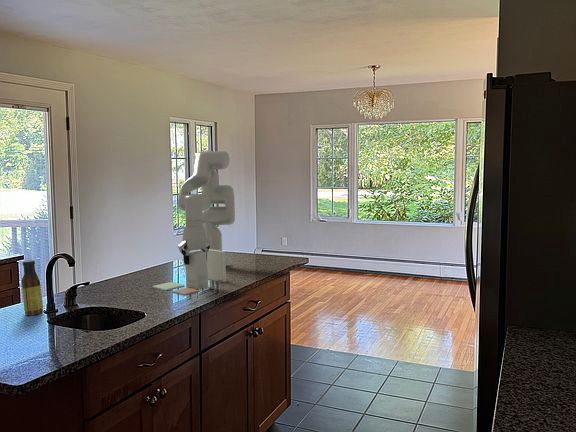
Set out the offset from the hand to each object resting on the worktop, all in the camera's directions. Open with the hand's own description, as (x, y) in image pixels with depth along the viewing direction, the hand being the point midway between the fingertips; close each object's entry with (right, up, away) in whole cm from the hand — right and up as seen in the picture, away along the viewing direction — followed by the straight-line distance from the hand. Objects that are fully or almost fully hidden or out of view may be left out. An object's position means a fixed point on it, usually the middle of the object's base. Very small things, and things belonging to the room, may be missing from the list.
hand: (195, 262), depth 231 cm
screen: (+6, -9, +15) cm, 19 cm away
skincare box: (0, -11, +2) cm, 11 cm away
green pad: (-13, -11, +2) cm, 17 cm away
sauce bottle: (-54, -16, -35) cm, 66 cm away
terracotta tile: (-3, -12, -8) cm, 14 cm away
